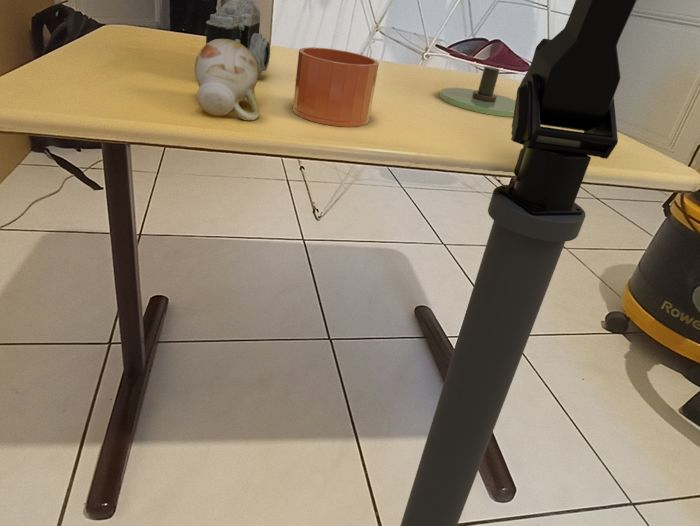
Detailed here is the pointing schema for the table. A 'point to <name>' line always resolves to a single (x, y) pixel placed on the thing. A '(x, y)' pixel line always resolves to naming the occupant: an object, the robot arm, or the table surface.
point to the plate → (478, 102)
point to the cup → (334, 86)
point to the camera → (240, 29)
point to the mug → (226, 78)
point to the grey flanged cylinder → (487, 85)
